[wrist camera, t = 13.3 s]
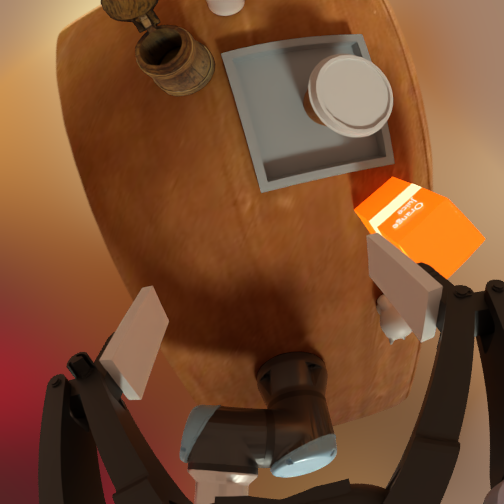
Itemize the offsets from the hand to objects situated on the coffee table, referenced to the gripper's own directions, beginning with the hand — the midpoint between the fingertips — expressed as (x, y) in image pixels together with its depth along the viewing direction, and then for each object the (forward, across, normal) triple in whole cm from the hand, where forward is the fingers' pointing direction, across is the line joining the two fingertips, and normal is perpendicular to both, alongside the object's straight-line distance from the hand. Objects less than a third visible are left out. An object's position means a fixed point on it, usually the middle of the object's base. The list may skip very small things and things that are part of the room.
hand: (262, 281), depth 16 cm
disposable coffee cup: (+24, -13, -11) cm, 30 cm away
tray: (+25, -11, -11) cm, 30 cm away
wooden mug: (+25, +5, -24) cm, 35 cm away
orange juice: (+26, -20, +7) cm, 34 cm away
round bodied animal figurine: (+26, -21, +27) cm, 43 cm away
